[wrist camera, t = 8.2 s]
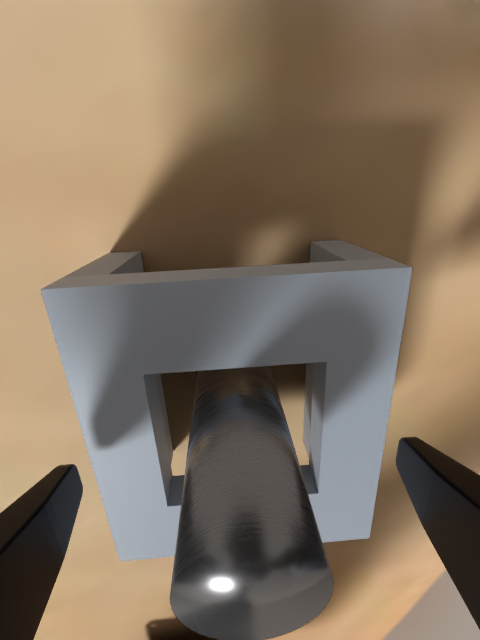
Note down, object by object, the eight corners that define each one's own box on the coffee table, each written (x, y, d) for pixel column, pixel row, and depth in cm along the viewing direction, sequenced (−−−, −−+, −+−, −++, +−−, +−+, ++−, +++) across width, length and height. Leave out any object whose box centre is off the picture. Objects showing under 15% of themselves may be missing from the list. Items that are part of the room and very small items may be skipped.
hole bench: (326, 439, 16) (369, 538, 12) (149, 453, 16) (119, 561, 11) (340, 239, 12) (412, 267, 8) (109, 252, 12) (40, 289, 7)
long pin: (266, 384, 15) (328, 633, 6) (202, 389, 15) (179, 648, 6) (265, 325, 14) (339, 533, 5) (196, 330, 14) (158, 550, 5)
